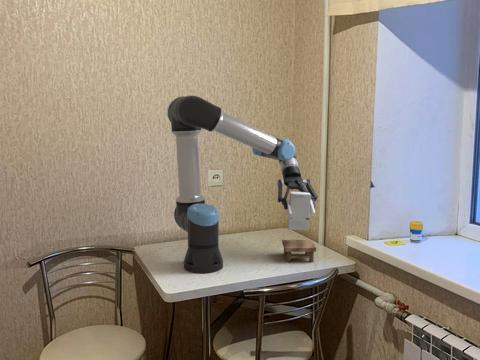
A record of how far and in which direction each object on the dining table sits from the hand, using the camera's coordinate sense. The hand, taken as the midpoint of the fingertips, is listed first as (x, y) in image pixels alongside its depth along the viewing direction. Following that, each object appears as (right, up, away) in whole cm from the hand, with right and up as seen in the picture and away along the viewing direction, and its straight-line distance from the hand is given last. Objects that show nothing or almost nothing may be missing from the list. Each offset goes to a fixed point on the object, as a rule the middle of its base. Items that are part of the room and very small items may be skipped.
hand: (301, 215), depth 173 cm
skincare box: (-1, -6, +4) cm, 7 cm away
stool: (-1, -18, +5) cm, 19 cm away
